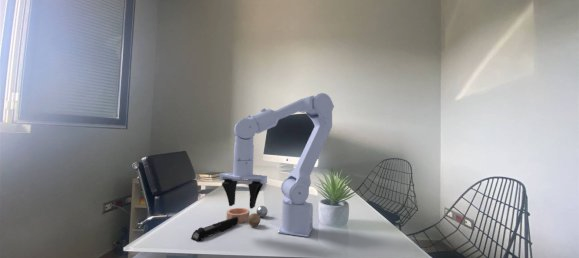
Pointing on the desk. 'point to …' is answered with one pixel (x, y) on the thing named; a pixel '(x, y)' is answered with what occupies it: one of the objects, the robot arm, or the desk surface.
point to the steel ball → (262, 211)
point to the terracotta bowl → (238, 214)
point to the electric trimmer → (213, 229)
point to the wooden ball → (254, 220)
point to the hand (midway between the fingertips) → (241, 206)
